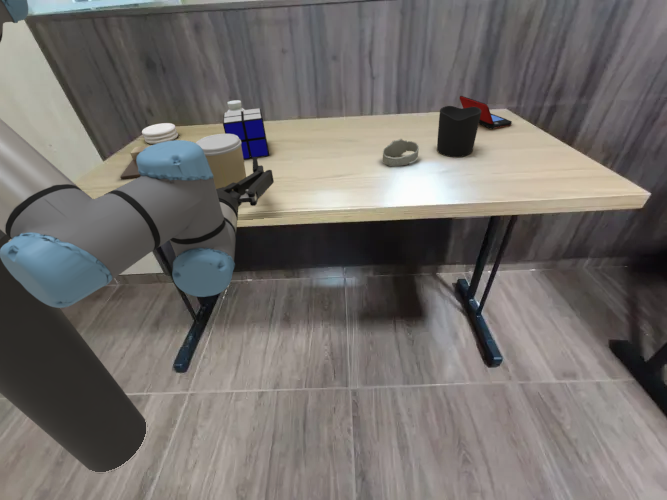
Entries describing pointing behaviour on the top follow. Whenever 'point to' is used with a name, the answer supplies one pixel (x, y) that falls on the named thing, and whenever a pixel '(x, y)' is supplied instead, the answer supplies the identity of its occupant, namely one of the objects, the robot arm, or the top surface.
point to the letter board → (133, 164)
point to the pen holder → (457, 130)
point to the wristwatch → (400, 153)
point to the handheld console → (485, 114)
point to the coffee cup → (224, 158)
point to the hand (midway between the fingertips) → (223, 167)
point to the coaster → (159, 133)
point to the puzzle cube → (247, 131)
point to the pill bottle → (234, 106)
